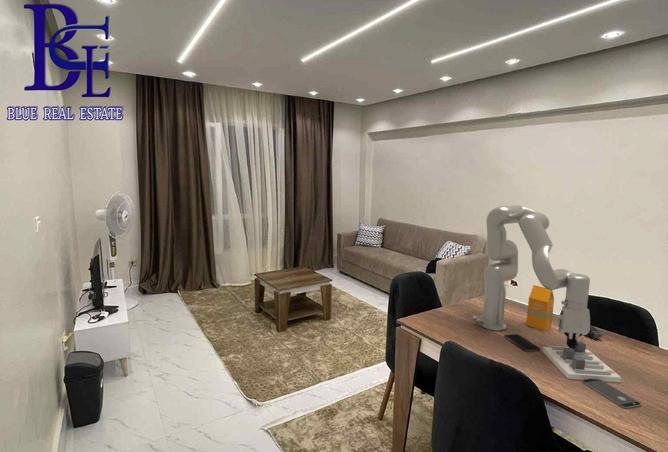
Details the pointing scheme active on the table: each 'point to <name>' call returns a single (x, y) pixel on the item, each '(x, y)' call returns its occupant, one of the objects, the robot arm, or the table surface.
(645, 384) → the table surface
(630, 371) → the table surface
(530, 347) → the phone
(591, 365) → the switch board
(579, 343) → the far tab
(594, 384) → the phone
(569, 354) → the middle tab
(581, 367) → the near tab
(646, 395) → the table surface
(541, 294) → the orange juice
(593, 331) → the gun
